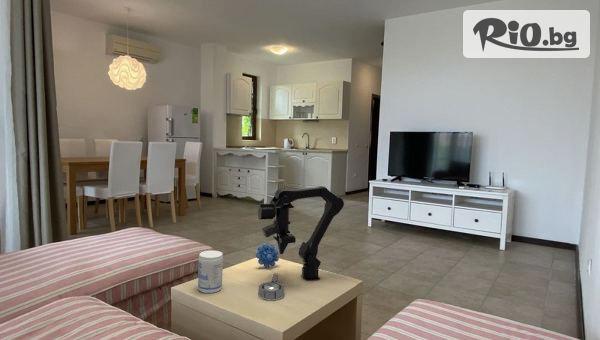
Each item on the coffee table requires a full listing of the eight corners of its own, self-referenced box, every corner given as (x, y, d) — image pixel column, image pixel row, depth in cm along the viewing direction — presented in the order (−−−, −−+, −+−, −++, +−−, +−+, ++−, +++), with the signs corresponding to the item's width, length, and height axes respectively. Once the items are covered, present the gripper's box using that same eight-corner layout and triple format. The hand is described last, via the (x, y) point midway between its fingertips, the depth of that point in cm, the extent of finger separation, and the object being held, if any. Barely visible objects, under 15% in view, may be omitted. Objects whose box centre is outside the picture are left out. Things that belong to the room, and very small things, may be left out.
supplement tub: (193, 290, 149) (193, 254, 148) (208, 282, 158) (208, 248, 157) (212, 295, 146) (213, 258, 144) (227, 287, 154) (227, 252, 153)
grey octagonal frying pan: (264, 279, 161) (264, 272, 161) (286, 281, 160) (287, 273, 160) (257, 297, 143) (257, 289, 143) (282, 299, 142) (282, 290, 142)
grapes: (258, 272, 173) (258, 246, 172) (253, 267, 179) (254, 242, 178) (281, 269, 177) (282, 244, 176) (276, 264, 183) (277, 240, 182)
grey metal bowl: (279, 288, 154) (279, 280, 154) (287, 298, 145) (287, 289, 144) (256, 291, 150) (256, 283, 150) (262, 302, 141) (262, 292, 141)
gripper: (258, 215, 166) (257, 249, 167) (270, 224, 149) (269, 262, 150) (282, 213, 170) (281, 247, 171) (296, 222, 153) (295, 260, 154)
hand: (281, 254), depth 161 cm, fingers closed
